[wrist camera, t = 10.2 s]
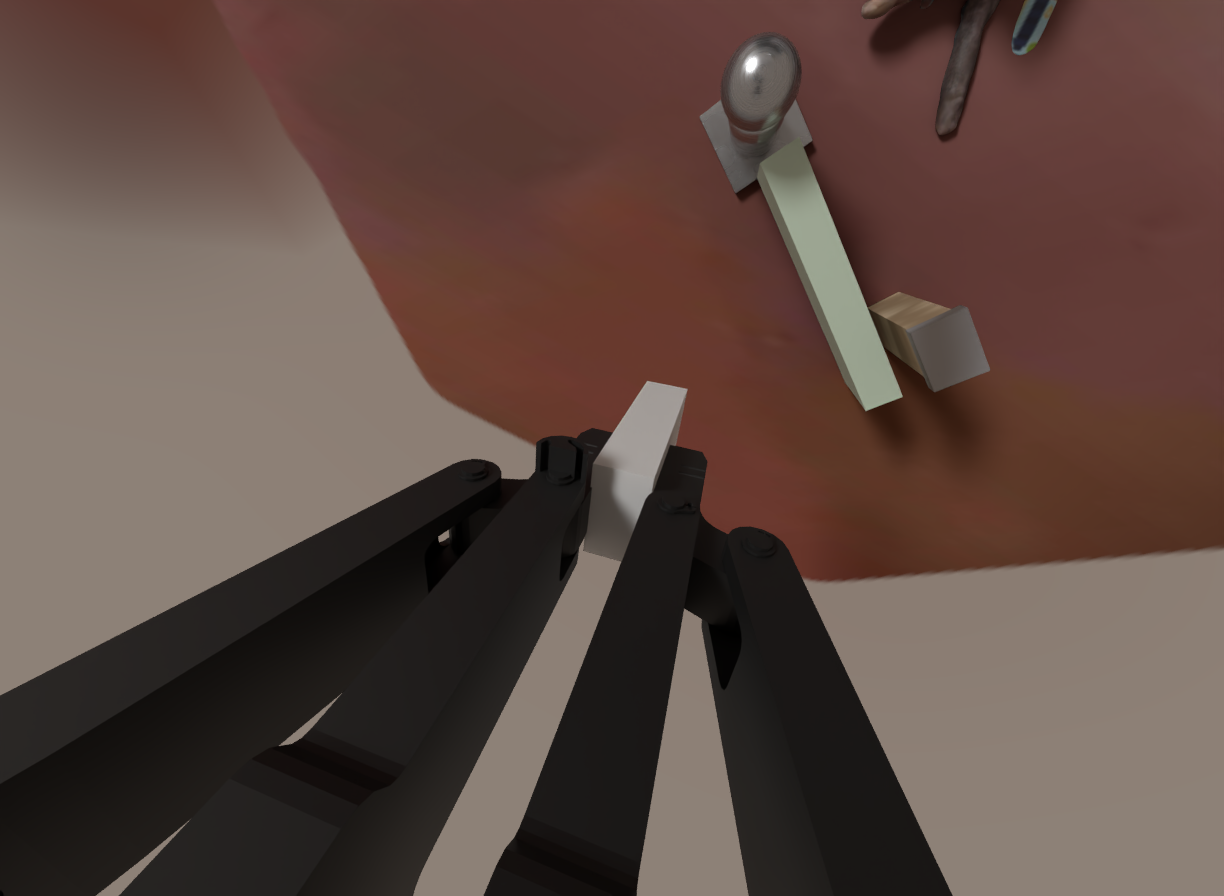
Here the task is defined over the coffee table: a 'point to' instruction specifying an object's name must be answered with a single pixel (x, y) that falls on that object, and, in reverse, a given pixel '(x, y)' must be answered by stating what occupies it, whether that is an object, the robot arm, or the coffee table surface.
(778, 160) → the gate
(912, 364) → the block
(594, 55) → the coffee table surface
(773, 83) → the hinge post
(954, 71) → the stuffed animal
